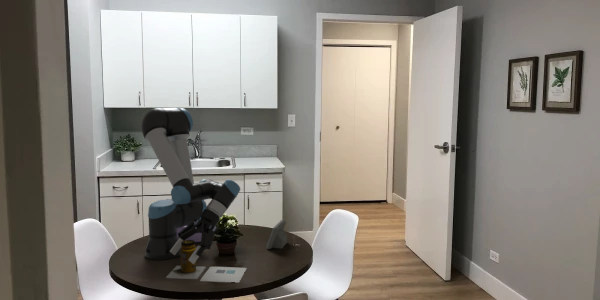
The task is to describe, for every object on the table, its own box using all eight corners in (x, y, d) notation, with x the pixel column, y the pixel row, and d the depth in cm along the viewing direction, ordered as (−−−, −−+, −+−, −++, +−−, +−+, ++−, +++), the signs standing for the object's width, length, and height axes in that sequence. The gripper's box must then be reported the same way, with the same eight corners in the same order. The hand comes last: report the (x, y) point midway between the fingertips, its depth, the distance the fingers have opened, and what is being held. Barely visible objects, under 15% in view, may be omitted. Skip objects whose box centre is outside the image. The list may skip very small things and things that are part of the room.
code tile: (199, 282, 177) (199, 280, 177) (210, 267, 192) (210, 266, 192) (239, 283, 176) (239, 282, 176) (246, 269, 191) (246, 267, 191)
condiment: (200, 271, 186) (200, 241, 185) (181, 276, 180) (180, 246, 179) (190, 266, 191) (190, 237, 190) (171, 271, 185) (171, 241, 184)
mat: (166, 278, 180) (166, 276, 180) (177, 266, 192) (177, 265, 192) (197, 279, 179) (197, 278, 179) (205, 267, 191) (205, 266, 191)
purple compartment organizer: (167, 242, 224) (167, 228, 223) (173, 234, 236) (173, 221, 236) (210, 242, 225) (209, 228, 224) (213, 234, 237) (213, 221, 236)
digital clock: (276, 239, 230) (276, 218, 229) (293, 241, 227) (293, 220, 225) (260, 248, 216) (260, 226, 214) (277, 251, 212) (277, 228, 211)
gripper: (237, 224, 185) (205, 271, 177) (201, 213, 203) (171, 254, 194) (226, 213, 181) (193, 260, 172) (190, 202, 198) (158, 245, 190)
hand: (181, 257), depth 183 cm, fingers open, 13 cm apart
